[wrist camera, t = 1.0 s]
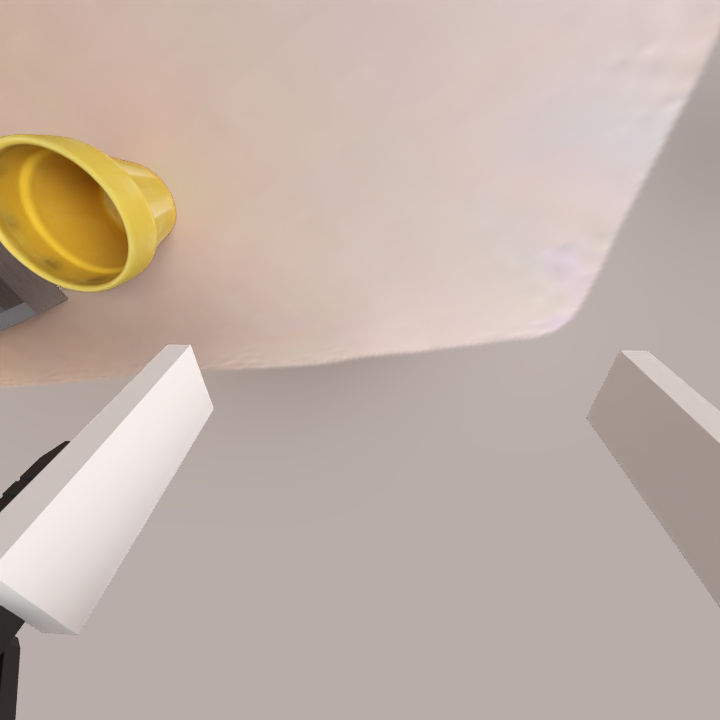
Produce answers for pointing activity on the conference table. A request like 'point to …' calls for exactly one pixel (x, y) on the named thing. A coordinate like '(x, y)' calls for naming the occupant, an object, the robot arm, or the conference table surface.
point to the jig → (23, 291)
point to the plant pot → (79, 212)
